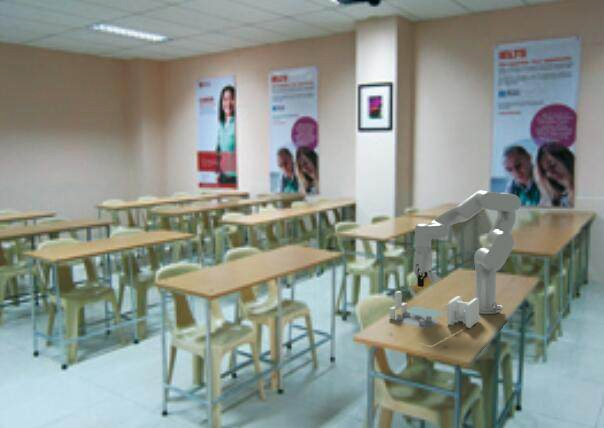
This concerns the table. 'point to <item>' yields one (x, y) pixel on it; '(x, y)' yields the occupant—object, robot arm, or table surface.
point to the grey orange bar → (427, 281)
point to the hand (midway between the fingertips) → (423, 285)
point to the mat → (424, 312)
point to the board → (415, 320)
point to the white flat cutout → (398, 304)
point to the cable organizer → (463, 311)
